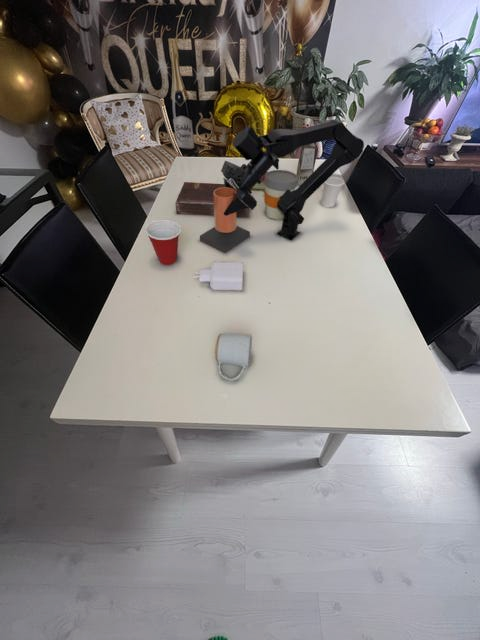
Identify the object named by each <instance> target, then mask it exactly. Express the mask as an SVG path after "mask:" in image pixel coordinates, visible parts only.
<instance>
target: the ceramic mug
mask: <svg viewBox="0 0 480 640" xmlns="http://www.w3.org/2000/svg"><path fill="white" fill-rule="evenodd" d="M252 344H253V336H252V334H249V333H233V332H232V333H230V332H228V333H227V332H222V333H219V334H218V335H217V337H216V340H215V345H214V347H215V348H214V358H215V361H216V363H218V372H219V375H220V376H221V377H222V378H223V379H224V380H226V381H230V382H233V381H237V380H238V379H240V378H241V377H242V376H243V373H244V371H245V369H246V368H249V367H250V363H251V355H252V347H253V346H252ZM222 365H231V366H235V367H240V368H242V369H241V370H240V372H239V374H238V375H236V376H235V377H231V376H228V375H227V374H224V373H223V372H222Z"/></svg>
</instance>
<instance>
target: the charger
mask: <svg viewBox="0 0 480 640" xmlns="http://www.w3.org/2000/svg"><path fill="white" fill-rule="evenodd" d="M243 268H244V265H243V262H242V261H214V262H212V263H211V264H210V268H201V269H200V271H199V272H198V271H194V272H193V274H195V275H192V276H193V278H199V282H200V283H201V282H202V283H203V282H204V283H209V288H210V289H212V290H214V291H243V277H244V276H243V274H244V273H243V272H244V271H243Z"/></svg>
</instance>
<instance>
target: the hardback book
mask: <svg viewBox="0 0 480 640" xmlns="http://www.w3.org/2000/svg"><path fill="white" fill-rule="evenodd" d="M222 187H224V183H212V182H211V183H210V182H194V181H193V182H192V181H184V182H183V184H182V186H181V190H180V191H179V193H178V196H177V198H176V200H175V212H176V215H192V216H209V217H215V216H214V195H213V193H214V190H216V189H218V188H222ZM235 189H236V188H235ZM236 190H237V189H236ZM237 191H238V190H237ZM249 216H250V208H249V209H247V208H246V209H243V210H240V211H237V217H236V218H245V219H248V218H250V217H249Z"/></svg>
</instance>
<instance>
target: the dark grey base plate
mask: <svg viewBox="0 0 480 640" xmlns="http://www.w3.org/2000/svg"><path fill="white" fill-rule="evenodd" d="M250 237H251V231H249V230H248V229H246V228H243V227H240V226H239V225H236V229H235V230H234V231H232V232H228V233H223V232H219V231H217V230H216V228H215V226H214V227H212V228H209V230H206V231H205V232H204V233H202V234H200V235H199V241H200V242H201V243H204V244H205V245H207V246H210V247H211V248H214V249H216V250H217V251H219V252H221V253H223V254H227V253H228V252H229V251H232V250H233V249H234V248H236V247H237V246H239V245H240V244H242V243H243V242H245V241H246V240H247V239H249V238H250Z"/></svg>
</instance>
